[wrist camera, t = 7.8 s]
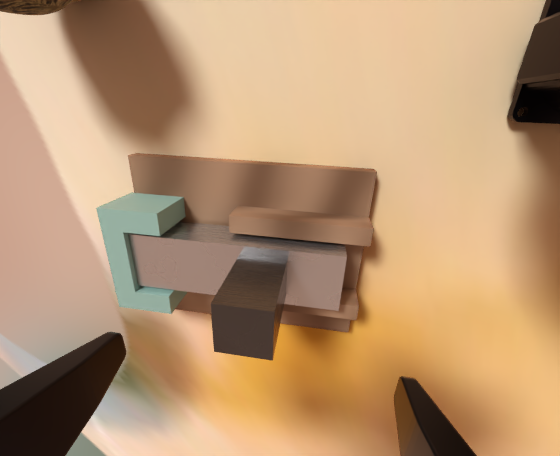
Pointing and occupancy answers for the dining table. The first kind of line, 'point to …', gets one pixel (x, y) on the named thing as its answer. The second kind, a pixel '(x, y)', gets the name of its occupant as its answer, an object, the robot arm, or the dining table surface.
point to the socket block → (116, 228)
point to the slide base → (271, 213)
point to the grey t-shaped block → (242, 278)
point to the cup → (33, 6)
